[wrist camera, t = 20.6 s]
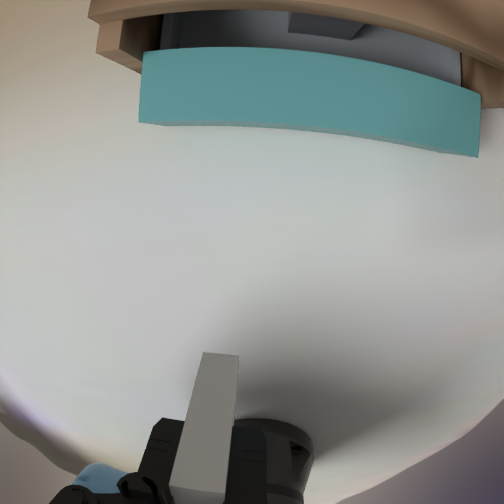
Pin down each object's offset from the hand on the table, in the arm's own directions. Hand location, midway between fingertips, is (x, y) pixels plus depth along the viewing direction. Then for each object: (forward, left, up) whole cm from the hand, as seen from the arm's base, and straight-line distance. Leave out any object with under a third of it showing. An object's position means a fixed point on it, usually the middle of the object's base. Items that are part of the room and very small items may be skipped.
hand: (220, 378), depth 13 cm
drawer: (+22, -5, -16) cm, 28 cm away
